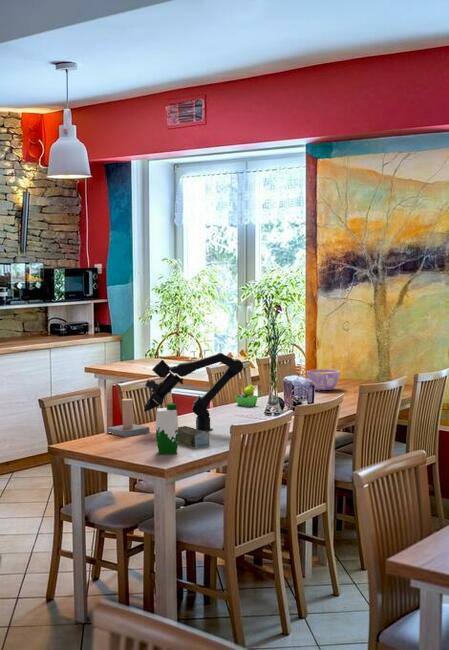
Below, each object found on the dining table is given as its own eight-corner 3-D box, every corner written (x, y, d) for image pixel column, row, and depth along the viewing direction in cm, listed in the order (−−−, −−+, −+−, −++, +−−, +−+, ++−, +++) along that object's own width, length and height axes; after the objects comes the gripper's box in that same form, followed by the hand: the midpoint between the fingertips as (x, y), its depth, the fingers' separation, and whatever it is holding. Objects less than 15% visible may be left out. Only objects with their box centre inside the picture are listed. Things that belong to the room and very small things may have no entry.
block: (133, 426, 411) (132, 398, 410) (132, 428, 406) (132, 400, 406) (123, 426, 411) (122, 398, 410) (122, 428, 406) (122, 400, 405)
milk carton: (178, 454, 360) (177, 405, 359) (156, 455, 359) (155, 406, 358) (178, 449, 369) (177, 402, 368) (156, 450, 368) (155, 403, 367)
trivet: (149, 432, 408) (149, 427, 408) (125, 436, 399) (124, 431, 399) (131, 428, 419) (131, 423, 418) (106, 433, 409) (106, 427, 409)
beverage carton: (194, 448, 371) (194, 433, 371) (170, 442, 387) (170, 427, 386) (210, 446, 376) (209, 431, 375) (185, 439, 391) (185, 424, 391)
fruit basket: (234, 405, 482) (233, 384, 481) (245, 403, 488) (245, 383, 487) (248, 407, 474) (248, 386, 473) (260, 405, 480) (260, 384, 479)
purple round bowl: (335, 393, 518) (335, 373, 518) (302, 392, 526) (302, 372, 525) (343, 388, 537) (343, 369, 536) (311, 387, 544) (311, 368, 543)
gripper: (155, 370, 417) (132, 394, 417) (155, 375, 399) (131, 400, 399) (172, 386, 418) (149, 410, 418) (173, 392, 400) (149, 417, 400)
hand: (144, 409), depth 409 cm, fingers open, 9 cm apart
